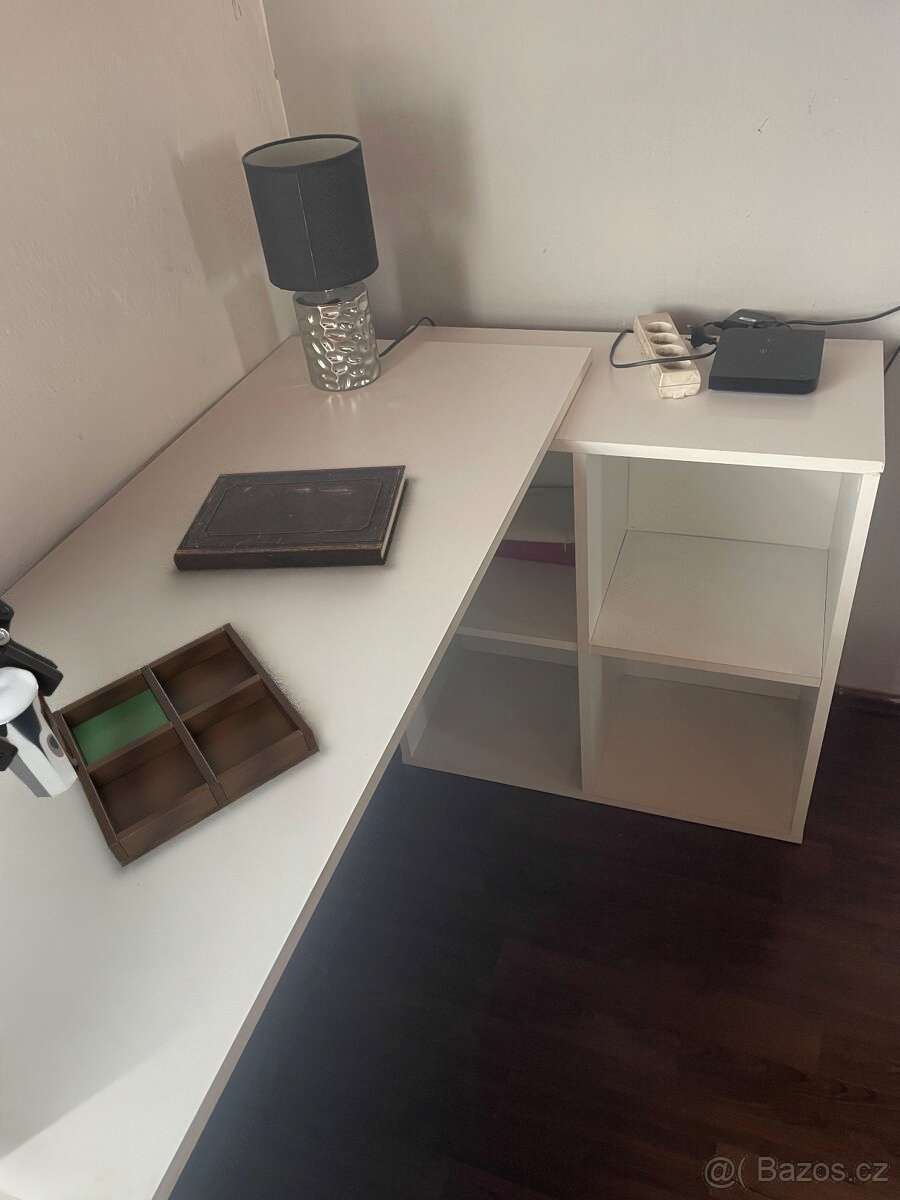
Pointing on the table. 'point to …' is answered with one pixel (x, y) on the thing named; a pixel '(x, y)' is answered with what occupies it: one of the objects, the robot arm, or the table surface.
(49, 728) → the milkshake
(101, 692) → the grid
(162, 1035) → the table surface
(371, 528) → the hardcover book
